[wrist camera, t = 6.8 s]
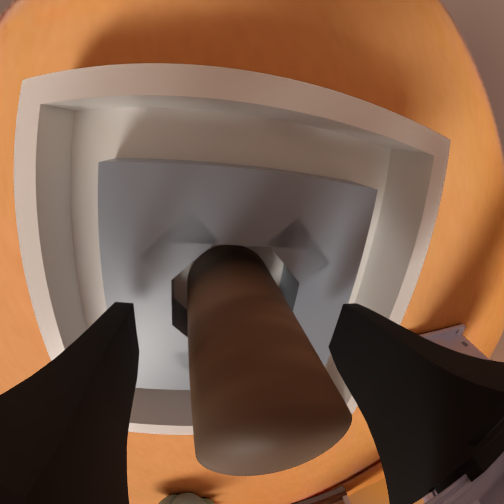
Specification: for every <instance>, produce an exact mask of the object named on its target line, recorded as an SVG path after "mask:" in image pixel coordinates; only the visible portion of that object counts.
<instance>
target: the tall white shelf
mask: <svg viewBox="0 0 504 504" xmlns="http://www.w3.org/2000/svg"><path fill="white" fill-rule="evenodd" d="M294 504H351V502H350V500H349V498H348V496H347V493H346V491H345V489H344V487H343V486H341V487H339V488H337V489H334V490H332V491H329V492H327V493H324V494H321V495H318V496H316V497H313V498H310V499H307V500H304V501H301V502H298V503H294Z"/></svg>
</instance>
